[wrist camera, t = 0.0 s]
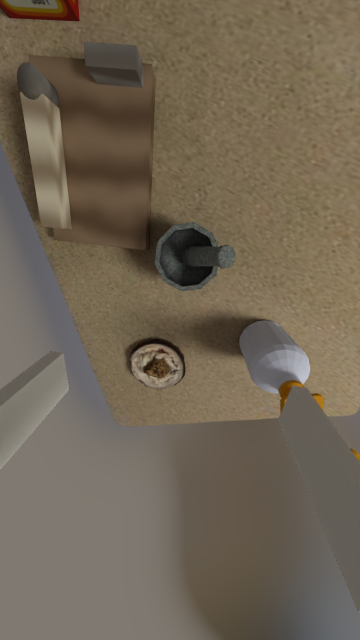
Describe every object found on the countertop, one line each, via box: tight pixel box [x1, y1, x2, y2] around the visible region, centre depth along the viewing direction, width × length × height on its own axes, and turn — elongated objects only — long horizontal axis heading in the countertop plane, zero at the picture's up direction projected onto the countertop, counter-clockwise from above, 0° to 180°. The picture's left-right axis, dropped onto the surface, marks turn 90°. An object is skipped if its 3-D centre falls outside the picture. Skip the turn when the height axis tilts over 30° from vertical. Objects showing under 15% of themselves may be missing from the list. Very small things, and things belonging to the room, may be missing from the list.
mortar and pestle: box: [155, 222, 235, 291], centre depth 30 cm, size 11×9×12 cm
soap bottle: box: [239, 320, 360, 462], centre depth 29 cm, size 9×9×25 cm
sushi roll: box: [130, 338, 185, 389], centre depth 43 cm, size 15×15×4 cm
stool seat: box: [28, 42, 156, 250], centre depth 29 cm, size 22×16×6 cm
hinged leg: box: [17, 63, 72, 229], centre depth 28 cm, size 18×3×3 cm, turn 174°
